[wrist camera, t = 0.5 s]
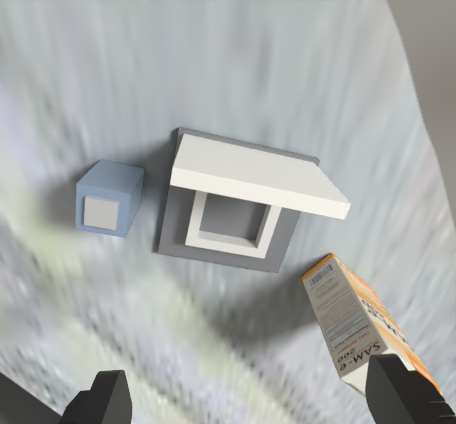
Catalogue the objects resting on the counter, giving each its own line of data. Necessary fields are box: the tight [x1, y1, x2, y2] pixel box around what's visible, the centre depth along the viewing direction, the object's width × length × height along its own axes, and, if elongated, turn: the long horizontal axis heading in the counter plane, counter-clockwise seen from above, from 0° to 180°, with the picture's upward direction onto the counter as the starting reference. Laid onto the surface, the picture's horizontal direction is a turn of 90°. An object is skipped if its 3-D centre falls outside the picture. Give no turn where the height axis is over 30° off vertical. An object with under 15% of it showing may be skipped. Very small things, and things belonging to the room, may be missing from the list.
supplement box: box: [301, 253, 442, 398], centre depth 31 cm, size 8×5×13 cm, turn 46°
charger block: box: [75, 160, 145, 238], centre depth 28 cm, size 4×4×6 cm
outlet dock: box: [158, 127, 351, 273], centre depth 28 cm, size 13×13×10 cm
